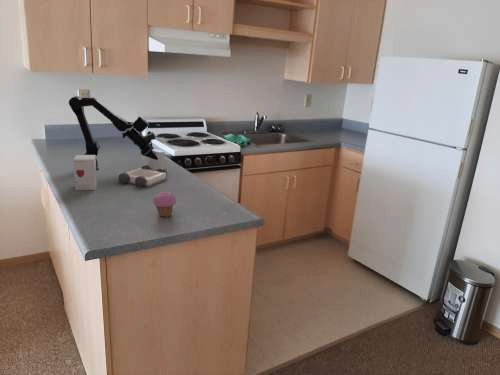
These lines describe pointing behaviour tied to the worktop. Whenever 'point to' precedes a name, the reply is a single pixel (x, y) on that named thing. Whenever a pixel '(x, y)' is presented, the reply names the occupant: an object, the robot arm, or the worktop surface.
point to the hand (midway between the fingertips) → (157, 157)
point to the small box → (157, 163)
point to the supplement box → (85, 172)
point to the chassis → (143, 176)
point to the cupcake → (164, 203)
